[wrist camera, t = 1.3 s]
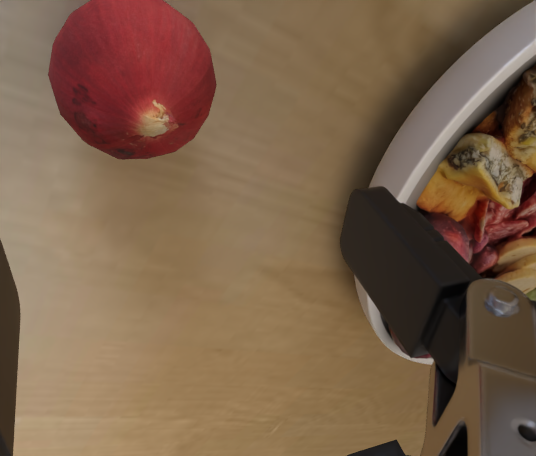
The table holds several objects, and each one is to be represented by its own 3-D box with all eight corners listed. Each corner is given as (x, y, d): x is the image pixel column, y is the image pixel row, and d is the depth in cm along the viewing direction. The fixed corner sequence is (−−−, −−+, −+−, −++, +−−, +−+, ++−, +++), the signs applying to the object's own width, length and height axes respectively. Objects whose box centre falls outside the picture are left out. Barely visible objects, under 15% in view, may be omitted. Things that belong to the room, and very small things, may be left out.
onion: (145, 130, 24) (177, 233, 18) (22, 65, 20) (14, 167, 14) (216, 27, 22) (279, 105, 16) (94, -65, 18) (118, -8, 12)
